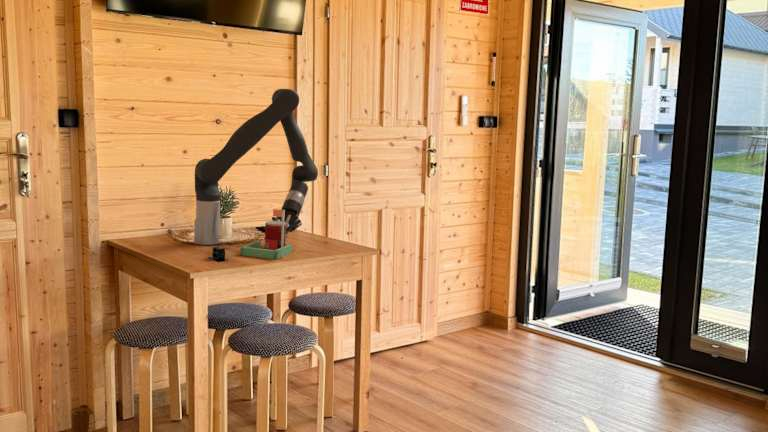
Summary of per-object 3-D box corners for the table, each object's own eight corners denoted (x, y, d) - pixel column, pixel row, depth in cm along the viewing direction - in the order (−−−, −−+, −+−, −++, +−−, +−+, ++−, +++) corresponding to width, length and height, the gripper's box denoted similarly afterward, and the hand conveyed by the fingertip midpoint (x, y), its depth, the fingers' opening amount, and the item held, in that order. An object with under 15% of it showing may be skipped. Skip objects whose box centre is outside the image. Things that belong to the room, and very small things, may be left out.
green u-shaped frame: (240, 255, 264) (241, 207, 262) (257, 248, 278) (258, 202, 275) (279, 259, 260) (281, 211, 257) (295, 252, 274) (297, 206, 271)
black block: (201, 257, 259) (202, 245, 259) (220, 255, 264) (220, 243, 263) (217, 264, 250) (217, 251, 249) (236, 262, 255) (236, 250, 254)
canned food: (281, 253, 271) (282, 224, 270) (261, 251, 273) (262, 222, 271) (288, 249, 279) (289, 221, 277) (268, 247, 281) (269, 220, 279)
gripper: (275, 197, 288) (261, 231, 278) (306, 200, 285) (293, 235, 275) (280, 208, 294) (267, 242, 284) (310, 211, 291) (298, 246, 281)
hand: (280, 239), depth 280 cm, fingers closed
